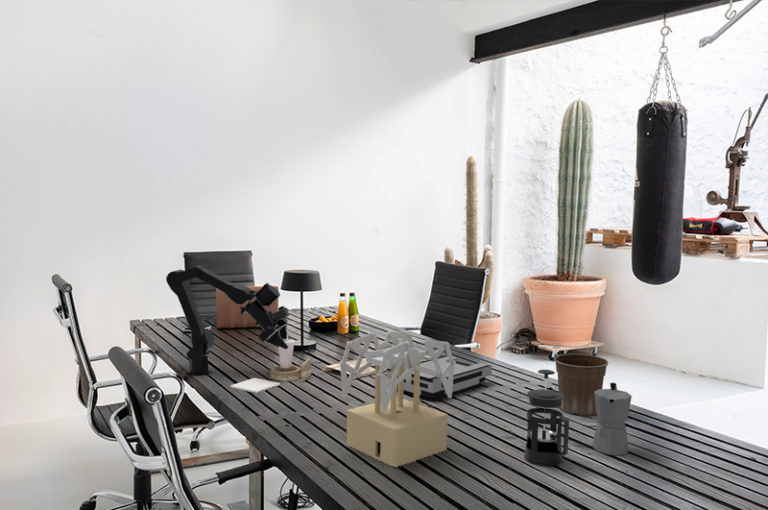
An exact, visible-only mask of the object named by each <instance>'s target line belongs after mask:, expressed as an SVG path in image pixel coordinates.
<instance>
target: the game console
mask: <svg viewBox="0 0 768 510" xmlns="http://www.w3.org/2000/svg"><path fill="white" fill-rule="evenodd" d="M452 358H453V360H454V361H456V364H455V365H454V375H453V388H452V396H456V395H458V394H462V393H465V392H468V391H471V390H474V389H477V388H480V387H482V383H483V382H485V381H486V378H487V377H490V376H491V375H492V369H493V367H492V365H489V364H486V363H481V362H478V363H475V364H470V363H466V362H462V361H458V357H455V356H452ZM438 362H439V365H440V368H441V371H442V372H443V371H444V370H445V368H446V367H447V366H448V364H449V359H448V355H447V354H445V355H443V356H441V355H440V356H439V357H438ZM420 366H421V367H424V368H427V369H430V370H433V371H436V372H437V370H436V367H435V364H434V362H433V361H432V360H422V362H420ZM406 368H407V367H406ZM407 369H408V368H407ZM386 376H387V377H388V378H389V379H391V369H388V368H387V371H386ZM397 378H398V374H397ZM446 378H447V381H448V378H449V373H448V374H447V376H446ZM409 383H410V382H409ZM397 391H398V384H397ZM408 392H409V393H413V394H414V372H413V373H412V377H411V384H410V385H408V384H407V382H406V380H405V379H404V383H403V393H408ZM419 396H420V397H421V398H423V399H426V400H429V401H430V400H431V401H433V402H437V401H439V400H443V399H446V398H448V396H447V393H446V391H445V388H444V386H443V383H442V381H441V378H439V377H435V376H432V375H429V374H426V373H423V372H420V388H419ZM449 397H450V395H449Z"/></svg>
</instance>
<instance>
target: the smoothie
mask: <svg viewBox="0 0 768 510" xmlns="http://www.w3.org/2000/svg"><path fill="white" fill-rule="evenodd" d="M288 334H289V328H287V339H283V340H284V342H285V343H286V344H287V346H288V348H287V349H284V348H281V347H279V346H277V347H278V354H279V355H278V356H279V362H280V363H279V364H280V365H279V366H281V368H290V367H291V365H292V362H293V354H294V346H295V345H296V341H295V340H294V339H292V338H291V339H288Z"/></svg>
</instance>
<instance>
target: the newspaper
mask: <svg viewBox="0 0 768 510" xmlns="http://www.w3.org/2000/svg"><path fill="white" fill-rule="evenodd" d="M357 360H358V359H354V360H349V361H346V363H347V364H348V365H350V366H351V367H352V368H353V369H354V368H355V365H356V363H357ZM422 361H423V360H420V362H422ZM366 363H368V362H366V357H363V359H362V361H361V364H360V367H359V368H361V367H362V366H364V365H365V364H366ZM321 370H322V371H323V372H331V371H336V370H337V371H340V372H341V368H340V362H339V363H334V364H330V365H325V366H322V367H321ZM385 372H386V373H387V368H384V372H383V373H385ZM346 374H347V375H350V373H348V372H346ZM373 375H375V364H373V365H371V366H370V367H368V368H367V369H366V370H364V371H363V372H362V373H360V375H357V376H356V375H355V376H354V379H353V380H355V379H359V378H364V377H368V376H373ZM348 378H349V376H347V379H348Z"/></svg>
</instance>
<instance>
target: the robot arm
mask: <svg viewBox="0 0 768 510" xmlns="http://www.w3.org/2000/svg"><path fill="white" fill-rule="evenodd" d="M193 279H198V280H200V281H202V282H204V283H207V284H208V285H209V286H212V287H213V288H215V289H217V290H219V291H221V292H222V293H224V294H225V295H226V296H227V298H229V299H230V300H231V301H232V302H234V303H235V304H236V305H242V306H241V307H240V315H243V314H245V313H247V314H248V316H250V317H251V318H252V319H253V321H255V323H254V324H255V325H256V326H259V327H260V328H261V329H262V330H263V331H262V332H261V333H259V335H258V339H259V340H260V341H261V343H264V342H266V343H269V344H272V345H275V346H277V347H278V346H279V347H281V348H284V349H287V348H288V346H287V344H286V343H285V342H284V340H283V339H287V329H288V322H289V321H288V320H287V318H288V316H290V312H289V309H288V308H287V307H286V306H284V305H280V306H278V309H277V310H276V311H274V312H273V311H272V310H268V309H266V307H270V306H271V305H273V304H274V303H275V302H276V300H278V298H280V296H281V293H280V291H279V290H278V289H277V288H276V287H274V286H273V285H271V284H269V283H268V282H266V283H265V284H264V285H263V286H262V287H261V288H260V289H259V290H258V291H257V290H253V289H251V288H250V287H248V286H245V285H242V284H239V283H234V282H231V281H229V280H227V279H225V278H224V277H222V276H220V275H219V274H216V273H215V272H213V271H210V270H209V269H207V268H206V267H204V266H203V265H196V266H194V267H191V268H189V269H186V270H185V269H184V270H183V269H176V270H174V271H173V270H172V271H170V272H169V273H168V274H167V275H166V277H165V281H166V284H167V286H168V287H169V288H170V290H171V291H172V292H173V293H174V294H175V295H176V296H177V298H178V299H177V300H178V301H179V304H180V306H181V309H182V311H183V314H184V317H185V319H186V322H187V324H188V327H189V329H190V332H191V338H190V339H191V340H190V341H191V345H192V346H191V348H190V349H189V350H188V351H187V352H186V356H187V357H186V358H187V359H189V370H188V371H186V374H189V375H195V376H201V375H205V374H208V373H212V370H210V369H209V359H208V358H209V357H208V355H209V354H210V351H211V350H212V349H213V348H214V346H215V340H216V338H215V337H214V336H213V332H212V329H209V330H207V329H206V328H205V327H204V325H203V322H202V320H201V316H200V315H199V311H198V309H197V306H196V304H195V301H194V299H193V297H192V294H191V290H190V289H191V288H190V287H191V286H190V285H191V282H190V280H193ZM255 298H256V299H255ZM253 299H255V300H254V301H251V300H253ZM243 304H245V305H243ZM289 334H290V333H288V339H292V338H291V337H290V335H289Z"/></svg>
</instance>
